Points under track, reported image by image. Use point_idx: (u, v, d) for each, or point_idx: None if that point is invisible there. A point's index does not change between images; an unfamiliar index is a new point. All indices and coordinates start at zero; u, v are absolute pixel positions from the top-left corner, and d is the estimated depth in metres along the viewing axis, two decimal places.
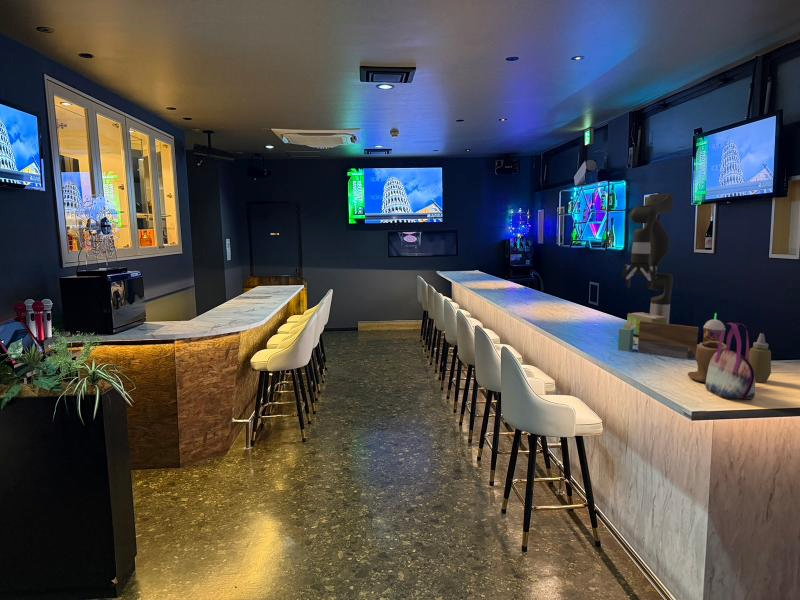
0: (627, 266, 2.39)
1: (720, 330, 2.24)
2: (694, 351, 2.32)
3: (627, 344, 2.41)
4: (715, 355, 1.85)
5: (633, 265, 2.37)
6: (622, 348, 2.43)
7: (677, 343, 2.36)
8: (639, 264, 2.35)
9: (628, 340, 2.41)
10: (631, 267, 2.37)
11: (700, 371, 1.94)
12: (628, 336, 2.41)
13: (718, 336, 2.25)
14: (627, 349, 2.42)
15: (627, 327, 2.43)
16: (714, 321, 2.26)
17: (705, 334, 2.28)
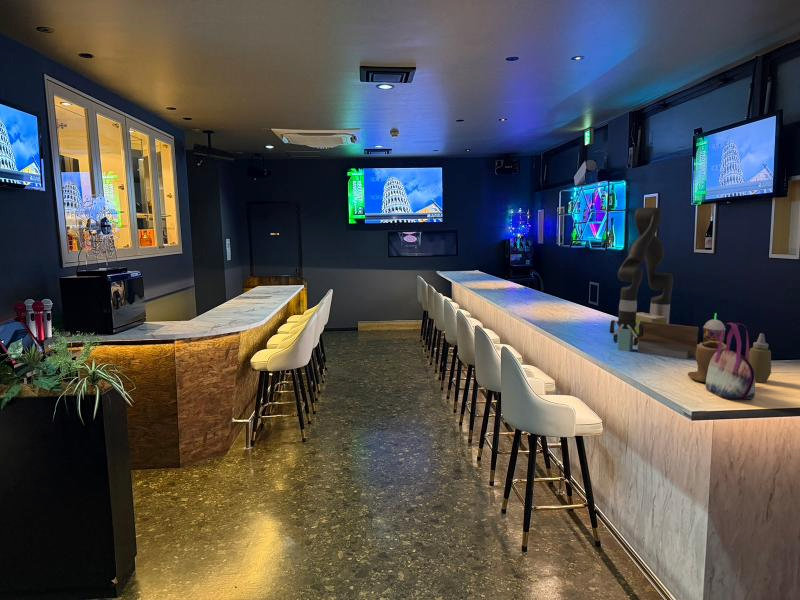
0: (614, 322, 2.46)
1: (720, 330, 2.24)
2: (694, 351, 2.32)
3: (627, 344, 2.41)
4: (715, 355, 1.85)
5: (620, 321, 2.44)
6: (622, 348, 2.43)
7: (677, 343, 2.36)
8: (626, 321, 2.42)
9: (628, 340, 2.41)
10: (618, 323, 2.44)
11: (700, 371, 1.94)
12: (628, 336, 2.41)
13: (718, 336, 2.25)
14: (627, 349, 2.42)
15: None
16: (714, 321, 2.26)
17: (705, 334, 2.28)
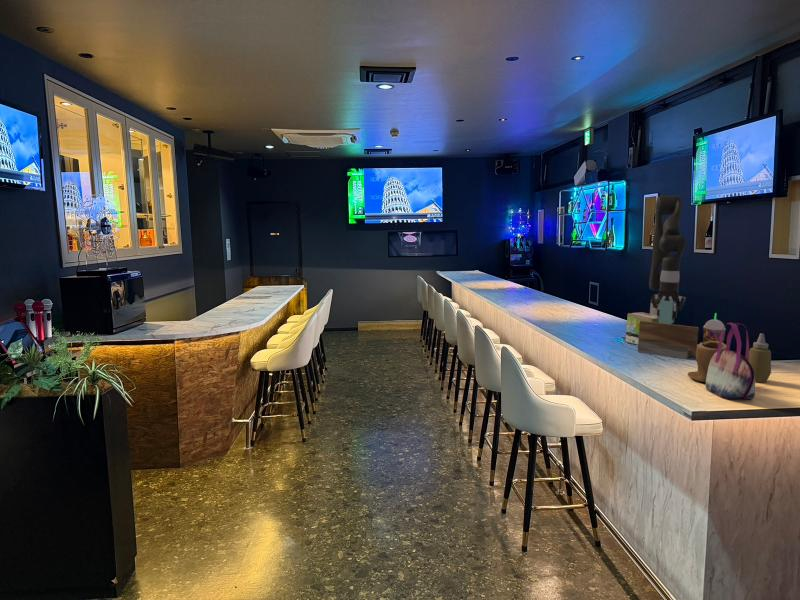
0: (655, 295, 2.36)
1: (720, 330, 2.24)
2: (694, 351, 2.32)
3: (669, 316, 2.31)
4: (715, 355, 1.85)
5: (661, 293, 2.34)
6: (663, 321, 2.33)
7: (677, 343, 2.36)
8: (668, 293, 2.32)
9: (670, 312, 2.31)
10: (659, 295, 2.34)
11: (700, 371, 1.94)
12: (670, 308, 2.31)
13: (718, 336, 2.25)
14: (669, 322, 2.32)
15: None
16: (714, 321, 2.26)
17: (705, 334, 2.28)
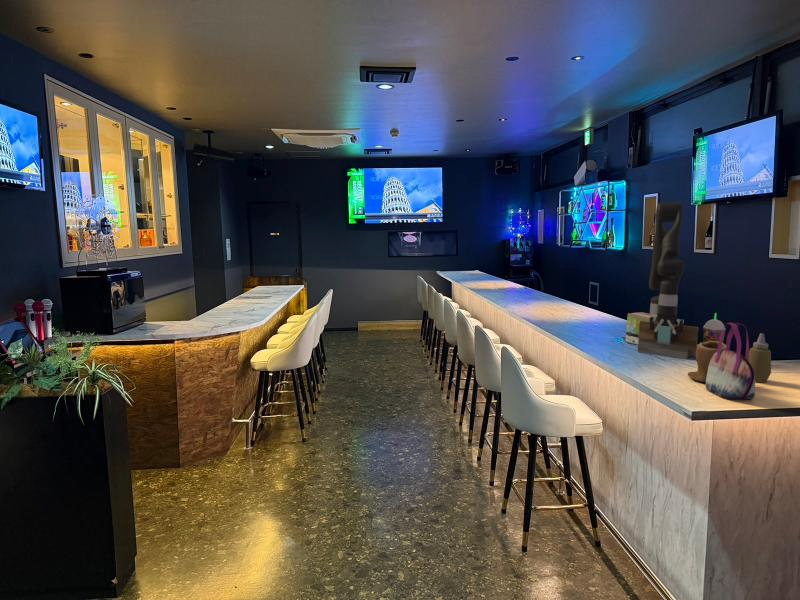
0: (653, 318, 2.38)
1: (720, 330, 2.24)
2: (694, 351, 2.32)
3: (667, 341, 2.33)
4: (715, 355, 1.85)
5: (660, 316, 2.35)
6: None
7: (677, 343, 2.36)
8: (666, 316, 2.34)
9: (668, 337, 2.33)
10: (658, 318, 2.36)
11: (700, 371, 1.94)
12: (668, 333, 2.32)
13: (718, 336, 2.25)
14: None
15: None
16: (714, 321, 2.26)
17: (705, 334, 2.28)
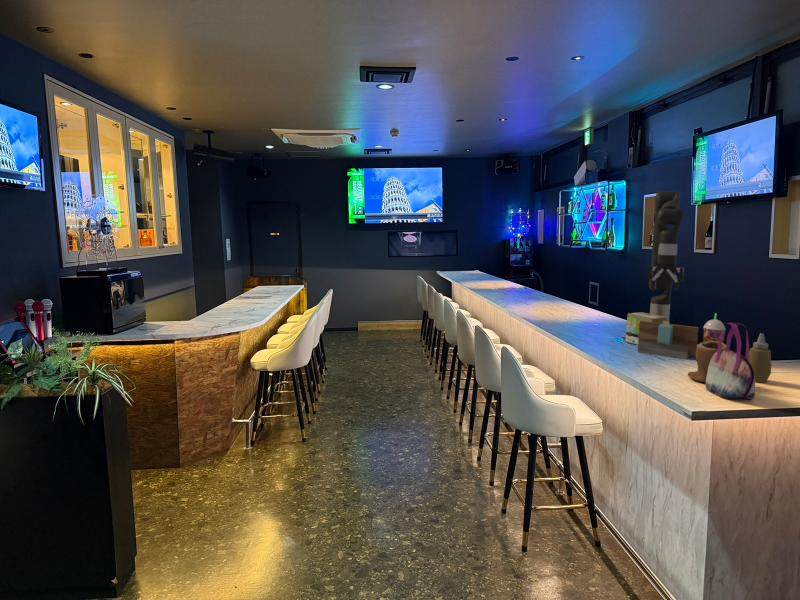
0: (653, 267, 2.39)
1: (720, 330, 2.24)
2: (694, 351, 2.32)
3: (667, 341, 2.33)
4: (715, 355, 1.85)
5: (659, 266, 2.36)
6: None
7: (677, 343, 2.36)
8: (666, 265, 2.35)
9: (668, 337, 2.33)
10: (657, 268, 2.37)
11: (700, 371, 1.94)
12: (668, 333, 2.32)
13: (718, 336, 2.25)
14: None
15: (667, 324, 2.34)
16: (714, 321, 2.26)
17: (705, 334, 2.28)
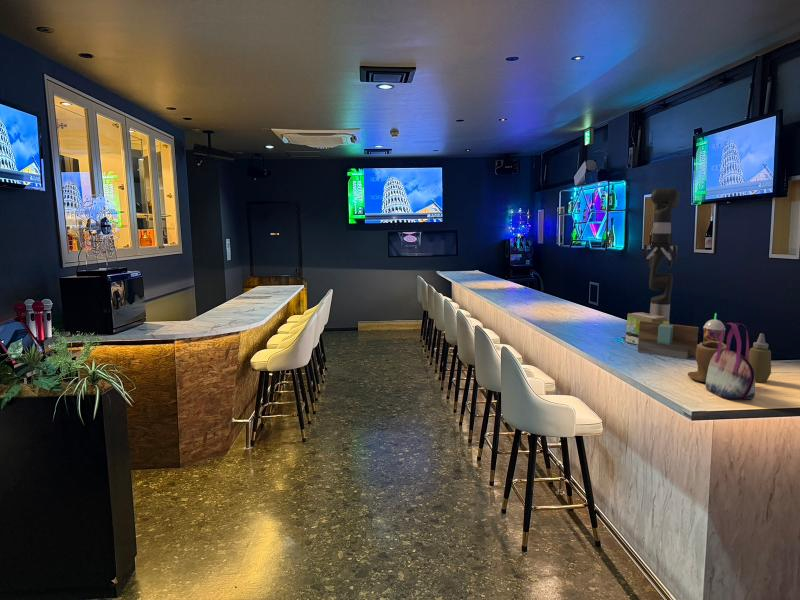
0: (647, 246, 2.45)
1: (720, 330, 2.24)
2: (694, 351, 2.32)
3: (667, 341, 2.33)
4: (715, 355, 1.85)
5: (653, 245, 2.43)
6: None
7: (677, 343, 2.36)
8: (659, 244, 2.41)
9: (668, 337, 2.33)
10: (651, 247, 2.43)
11: (700, 371, 1.94)
12: (668, 333, 2.32)
13: (718, 336, 2.25)
14: None
15: (667, 324, 2.34)
16: (714, 321, 2.26)
17: (705, 334, 2.28)
